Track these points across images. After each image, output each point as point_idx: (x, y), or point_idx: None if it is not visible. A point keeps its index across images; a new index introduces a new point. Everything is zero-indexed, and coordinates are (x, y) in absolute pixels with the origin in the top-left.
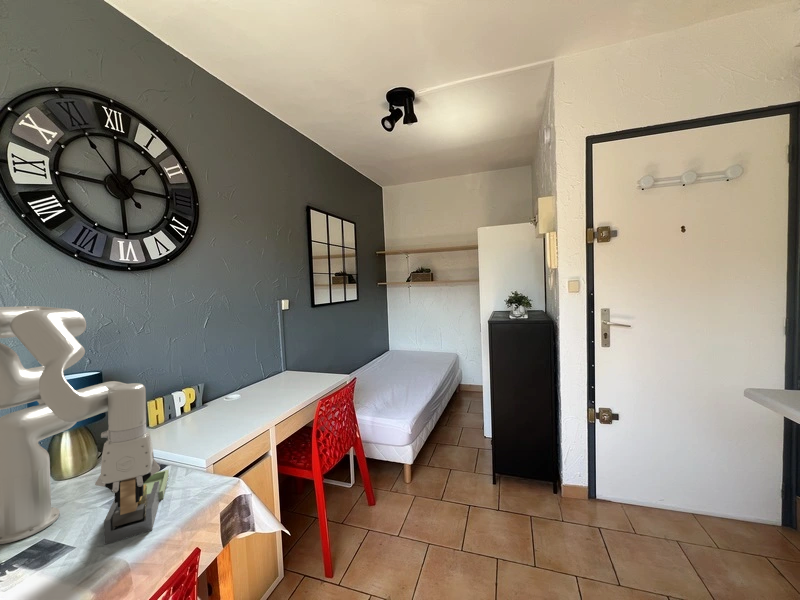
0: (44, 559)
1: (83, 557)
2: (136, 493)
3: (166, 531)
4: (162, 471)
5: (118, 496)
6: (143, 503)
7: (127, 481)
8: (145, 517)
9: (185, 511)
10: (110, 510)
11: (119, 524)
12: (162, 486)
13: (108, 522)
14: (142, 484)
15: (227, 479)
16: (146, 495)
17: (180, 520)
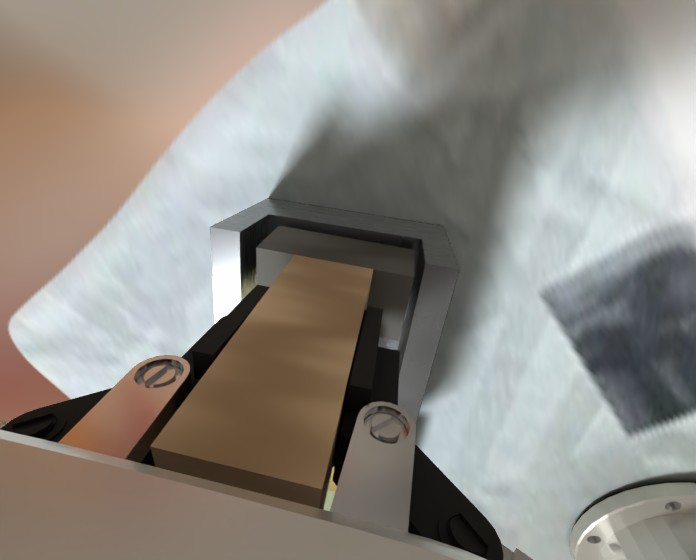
0: (653, 292)
1: (522, 188)
2: (237, 321)
3: (207, 140)
4: None
5: (367, 357)
6: None
7: (240, 461)
8: None
9: (156, 249)
10: (424, 364)
11: (382, 246)
12: None
13: (434, 257)
14: (147, 363)
15: (43, 365)
16: None
17: (163, 191)
